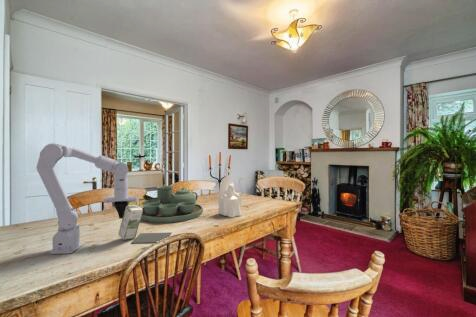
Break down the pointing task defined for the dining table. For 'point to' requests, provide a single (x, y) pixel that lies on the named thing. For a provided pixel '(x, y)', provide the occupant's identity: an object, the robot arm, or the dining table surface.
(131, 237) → the syrup box
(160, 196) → the tea set
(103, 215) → the dining table surface
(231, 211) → the religious statue
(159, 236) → the mat
